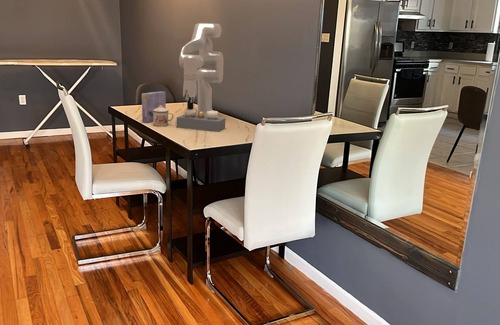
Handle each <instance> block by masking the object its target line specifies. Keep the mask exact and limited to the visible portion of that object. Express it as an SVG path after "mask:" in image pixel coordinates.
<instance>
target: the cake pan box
mask: <svg viewBox="0 0 500 325" xmlns="http://www.w3.org/2000/svg"><path fill="white" fill-rule="evenodd" d="M166 99H167V98H166V91H153V92H146V93H145V92H144V93H143V92H142V93H141V114H142V115H141V119H142V120H141V121H142V123H146V124H147V123H148V124H149V123H154V119H153V110H154V109H156V108H158V107H159V106H160V105H161V106H162V107H164V108H165V109H167V108H166V105H167V104H166Z"/></svg>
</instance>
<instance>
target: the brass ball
mask: <svg viewBox="0 0 500 325" xmlns="http://www.w3.org/2000/svg"><path fill="white" fill-rule="evenodd" d="M197 112H198V111H197ZM198 118H204V112H203V111H199V112H198Z"/></svg>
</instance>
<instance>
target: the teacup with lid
mask: <svg viewBox="0 0 500 325" xmlns="http://www.w3.org/2000/svg"><path fill="white" fill-rule="evenodd" d="M169 115H171V119H169ZM174 116H175V115H174V114H173V113H172V112H169V109H167V108H166V109H165V108H164V107H162V106H161V105H160V106H159V107H158V108H156V109H154V110H153V119H154V122H153V125H154V126H155V127H167V126H168V125H169V122H172V121H173V119H174Z"/></svg>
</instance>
